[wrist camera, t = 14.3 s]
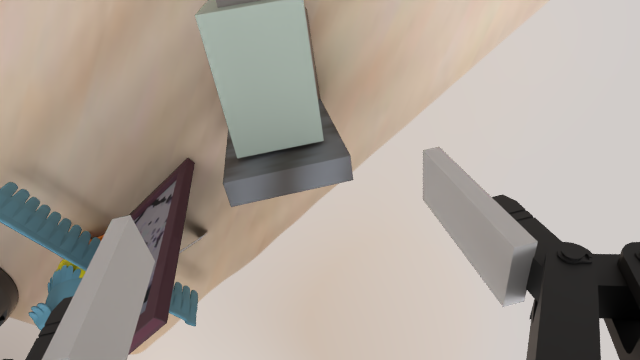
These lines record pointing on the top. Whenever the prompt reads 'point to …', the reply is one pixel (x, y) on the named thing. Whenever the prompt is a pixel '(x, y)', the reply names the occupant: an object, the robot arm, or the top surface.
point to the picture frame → (162, 246)
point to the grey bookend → (288, 164)
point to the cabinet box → (262, 72)
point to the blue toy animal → (68, 253)
